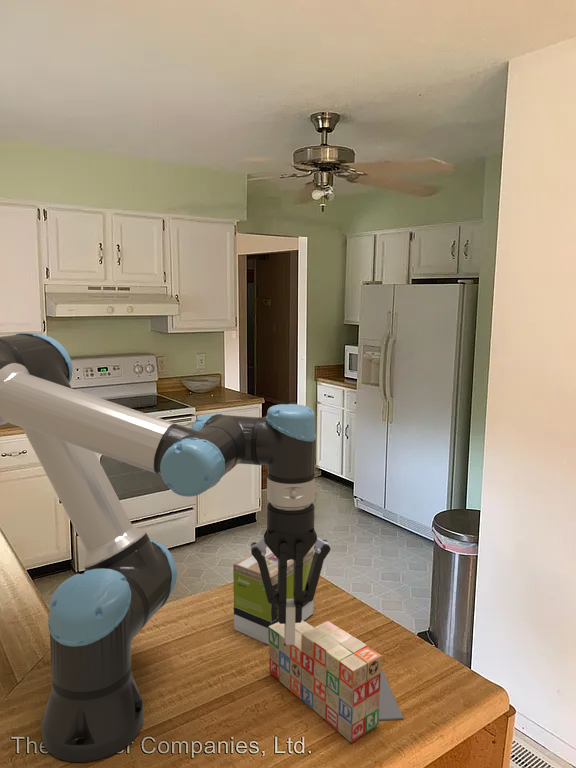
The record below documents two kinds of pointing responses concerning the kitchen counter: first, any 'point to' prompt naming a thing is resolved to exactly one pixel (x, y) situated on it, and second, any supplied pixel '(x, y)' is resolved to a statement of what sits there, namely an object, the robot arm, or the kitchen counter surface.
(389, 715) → the rubber pad
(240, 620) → the tea box
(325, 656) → the stack of blocks
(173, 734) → the kitchen counter surface
